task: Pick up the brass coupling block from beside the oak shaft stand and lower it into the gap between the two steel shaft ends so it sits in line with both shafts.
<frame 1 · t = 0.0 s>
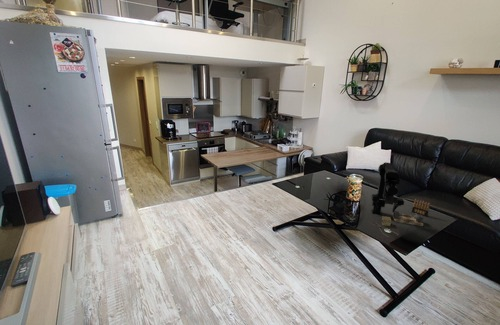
hand: (385, 211, 165), 15 cm above the table, tool pointing down, fingers open, 9 cm apart
shaft stand: (406, 220, 182), on the table
pliers: (381, 230, 169), on the table
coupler: (385, 224, 177), on the table
ammunition clip: (419, 214, 193), on the table
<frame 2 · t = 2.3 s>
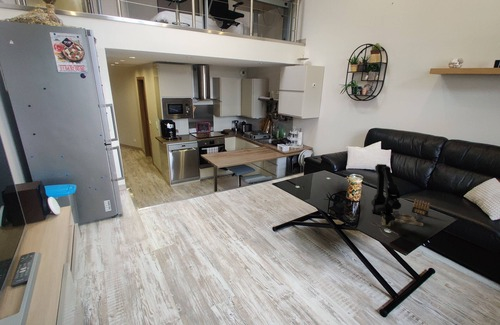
hand: (385, 222, 176), 1 cm above the table, tool pointing down, fingers closed on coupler, 5 cm apart
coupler: (385, 224, 177), on the table, touching gripper
everything else where it was.
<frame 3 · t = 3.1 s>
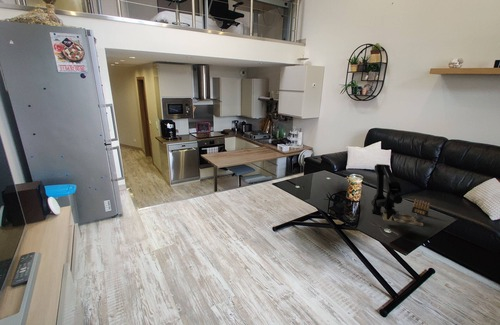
hand: (386, 217, 175), 5 cm above the table, tool pointing down, fingers closed on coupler, 5 cm apart
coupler: (386, 218, 175), point 4 cm above the table, touching gripper
everything else where it was.
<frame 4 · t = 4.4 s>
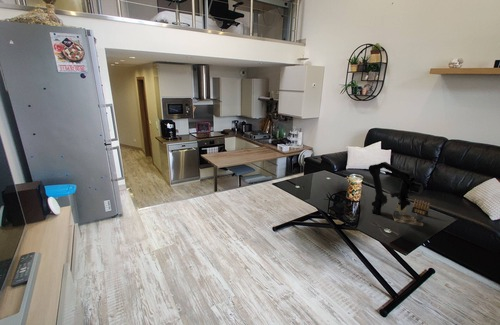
hand: (400, 208, 177), 11 cm above the table, tool pointing down, fingers closed on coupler, 5 cm apart
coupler: (400, 210, 177), point 10 cm above the table, touching gripper
everything else where it was.
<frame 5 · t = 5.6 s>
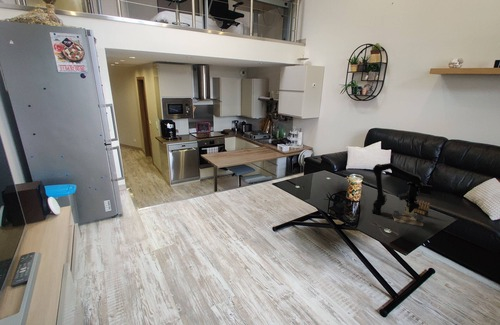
hand: (408, 211, 180), 8 cm above the table, tool pointing down, fingers closed on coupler, 5 cm apart
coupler: (408, 212, 180), point 7 cm above the table, touching gripper
everything else where it was.
when the fingers open (4 cm above the table, at t = 6.6 s): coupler drops 2 cm, resting on shaft stand.
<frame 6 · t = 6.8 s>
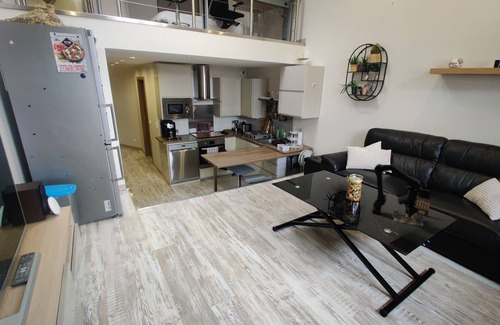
hand: (408, 215, 181), 4 cm above the table, tool pointing down, fingers open, 7 cm apart
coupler: (407, 218, 182), point 1 cm above the table, touching shaft stand
everything else where it was.
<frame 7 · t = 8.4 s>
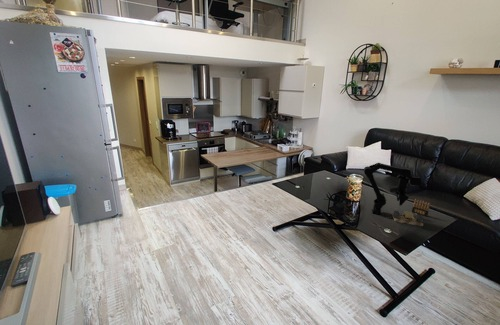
hand: (399, 203, 186), 11 cm above the table, tool pointing down, fingers open, 9 cm apart
nothing on the table moved.
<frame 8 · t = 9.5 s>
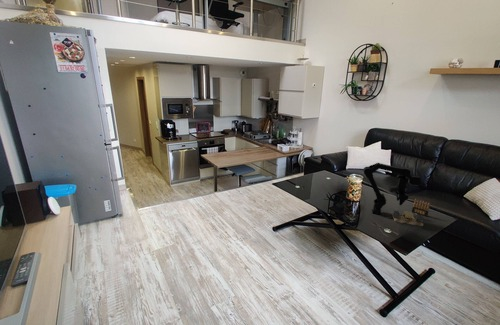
hand: (398, 202, 187), 11 cm above the table, tool pointing down, fingers open, 9 cm apart
nothing on the table moved.
at the end: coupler 0.0 cm off-centre on the shaft stand, point 1.5 cm above the shaft stand's base; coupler tilted 0°; the gripper is holding nothing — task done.
